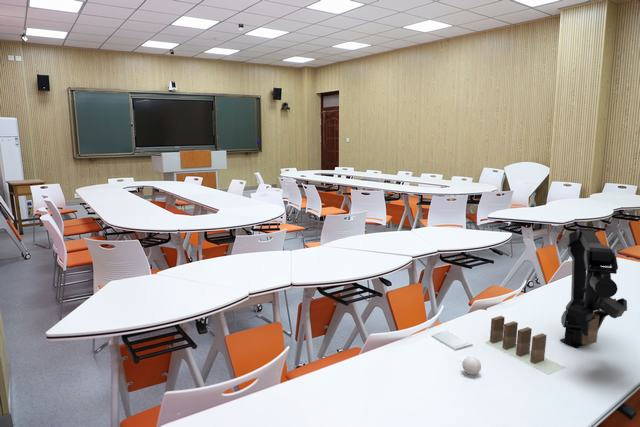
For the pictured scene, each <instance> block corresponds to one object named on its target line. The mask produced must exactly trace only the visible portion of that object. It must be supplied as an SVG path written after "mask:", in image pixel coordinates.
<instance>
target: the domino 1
mask: <svg viewBox="0 0 640 427" xmlns="http://www.w3.org/2000/svg"><path fill="white" fill-rule="evenodd" d="M504 324H505V316H502V315H499V316H496V317H492V318H491V320H490V333H489V334H490V335H489V341H490V342H491V343H493V344H494V343H497V342H500V341H503V334H504Z"/></svg>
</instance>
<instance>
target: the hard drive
mask: <svg viewBox="0 0 640 427" xmlns="http://www.w3.org/2000/svg"><path fill="white" fill-rule="evenodd" d="M430 337H431V338H433V339H435V340H436V341H438V342H440V343H441V344H443V345H445V346H447V347H448V348H450V349H452V350H454V351H455V352H456V351H459V350H463V349H466V348H467V349H468V348H469V347H473V344H472V343H471V342H469V341H467V340H465V339H464V338H462V337H460V336H458V335H457V334H454V333H453V332H451V331H450V330H443V331H440V332H437V333H433V334H431V336H430Z"/></svg>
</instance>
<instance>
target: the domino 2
mask: <svg viewBox="0 0 640 427" xmlns="http://www.w3.org/2000/svg"><path fill="white" fill-rule="evenodd" d="M518 324H519V323H518V322H517V321H509V322H506V323H504V332H503V347H502V348H503V349H505V350H508V349H511V348H514V347H516V344H517V335H518V327H519V326H518Z"/></svg>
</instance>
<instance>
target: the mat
mask: <svg viewBox="0 0 640 427" xmlns="http://www.w3.org/2000/svg"><path fill="white" fill-rule="evenodd" d="M484 343H485V344H486V345H488V346H490V347H493V348H495V349H497V350H499V351H500V352H503V353H504V354H507V355H508V356H511V357H513V358H514V359H517V360H518V361H520V362H522V363H524V364H526V365H529V366H530V367H533V368H534V369H536V370H538V371H540V372H542V373H545V374H547V375H550V374H553V373H556V372H558V371H561V370H562V369H566V366H564V365H561V364H559V363H558V362H555V361H553V360H551V359H549V358H547V357H544V361H541V362H539V363H536V364H533V363H531V362H530V358H531V350H530V353H529V354H526V355H524V356H521V357H519V356H517V355H516V347H517V343H516V347H514V348H511V349H508V350H505V349H503V348H502V347H503V341H500V342H497V343H494V344H493V343H491V342H490V340H488V341H484Z"/></svg>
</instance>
